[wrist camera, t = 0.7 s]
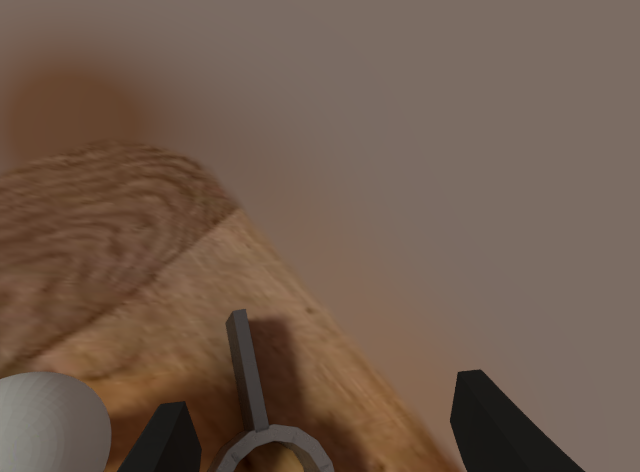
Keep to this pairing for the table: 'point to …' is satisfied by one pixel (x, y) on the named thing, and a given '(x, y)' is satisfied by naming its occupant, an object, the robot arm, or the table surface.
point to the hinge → (260, 411)
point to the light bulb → (52, 425)
